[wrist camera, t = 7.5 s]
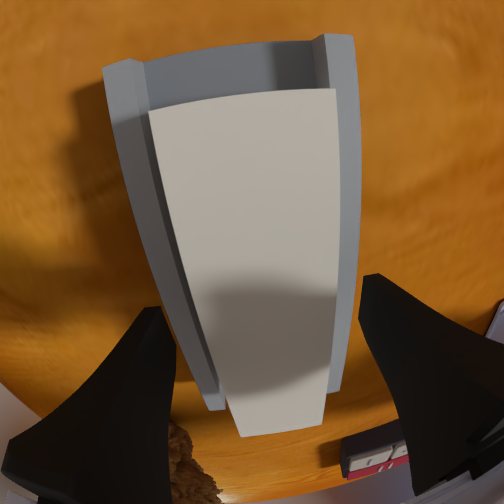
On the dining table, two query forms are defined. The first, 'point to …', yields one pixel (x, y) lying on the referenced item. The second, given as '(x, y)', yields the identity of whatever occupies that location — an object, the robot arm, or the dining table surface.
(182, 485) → the stuffed squirrel
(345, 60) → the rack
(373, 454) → the calculator
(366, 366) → the dining table surface
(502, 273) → the dining table surface
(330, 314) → the white rectangular block
